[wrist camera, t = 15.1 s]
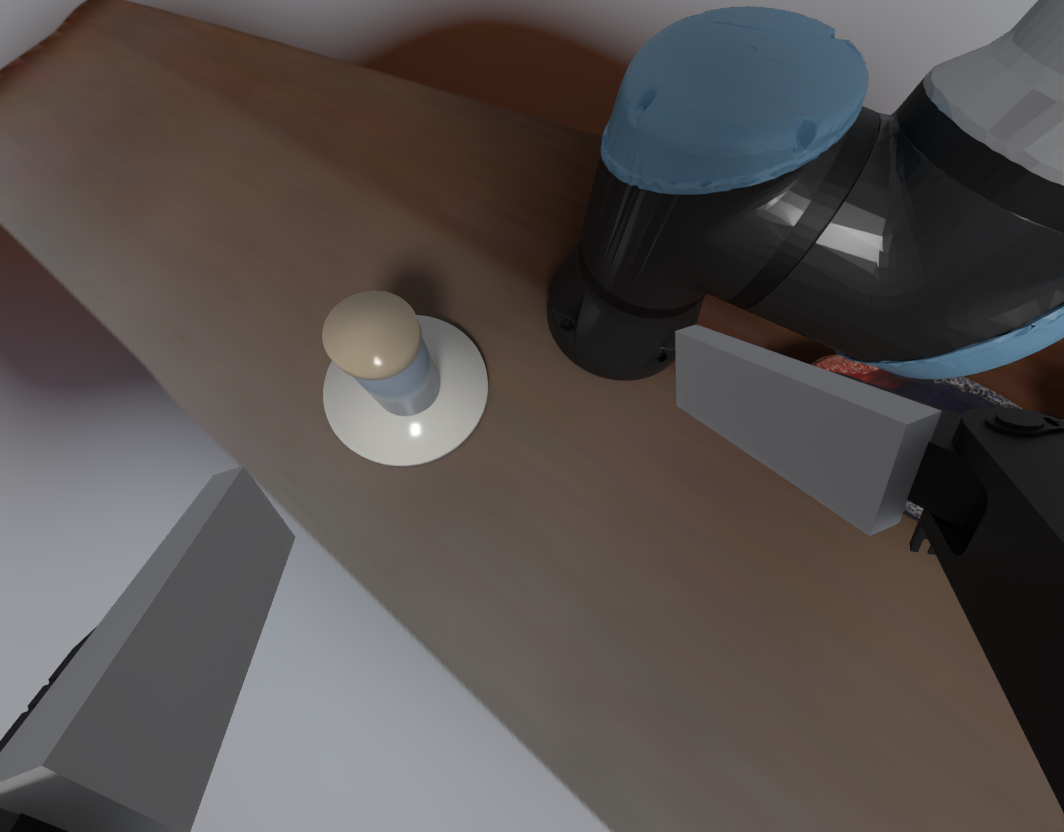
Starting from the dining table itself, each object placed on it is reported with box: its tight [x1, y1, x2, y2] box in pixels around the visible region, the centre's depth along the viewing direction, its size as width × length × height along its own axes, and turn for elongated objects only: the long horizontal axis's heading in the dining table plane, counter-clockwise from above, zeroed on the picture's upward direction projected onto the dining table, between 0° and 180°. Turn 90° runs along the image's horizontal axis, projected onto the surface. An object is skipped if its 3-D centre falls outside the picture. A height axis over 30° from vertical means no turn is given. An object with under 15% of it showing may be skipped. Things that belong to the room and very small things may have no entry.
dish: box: [810, 354, 1022, 521], centre depth 36 cm, size 16×31×5 cm, turn 59°
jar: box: [322, 290, 440, 416], centre depth 31 cm, size 6×6×10 cm
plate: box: [323, 315, 488, 467], centre depth 36 cm, size 15×15×1 cm
